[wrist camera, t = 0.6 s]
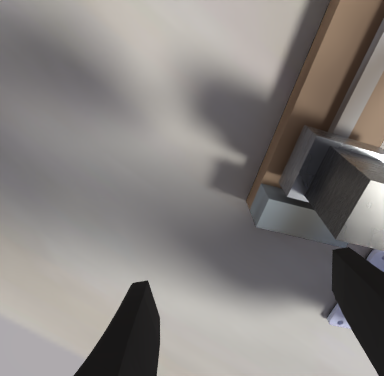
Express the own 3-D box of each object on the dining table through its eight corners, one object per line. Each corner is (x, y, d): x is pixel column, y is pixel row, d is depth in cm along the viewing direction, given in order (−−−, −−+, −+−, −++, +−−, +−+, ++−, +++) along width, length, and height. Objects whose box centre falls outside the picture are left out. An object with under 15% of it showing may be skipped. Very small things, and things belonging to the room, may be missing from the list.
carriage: (380, 147, 19) (456, 196, 14) (349, 200, 21) (407, 262, 15) (304, 125, 18) (354, 168, 13) (278, 182, 20) (314, 240, 15)
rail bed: (526, -141, 15) (607, -178, 12) (324, 220, 24) (345, 248, 21) (413, -198, 14) (473, -252, 11) (246, 200, 23) (256, 227, 20)
